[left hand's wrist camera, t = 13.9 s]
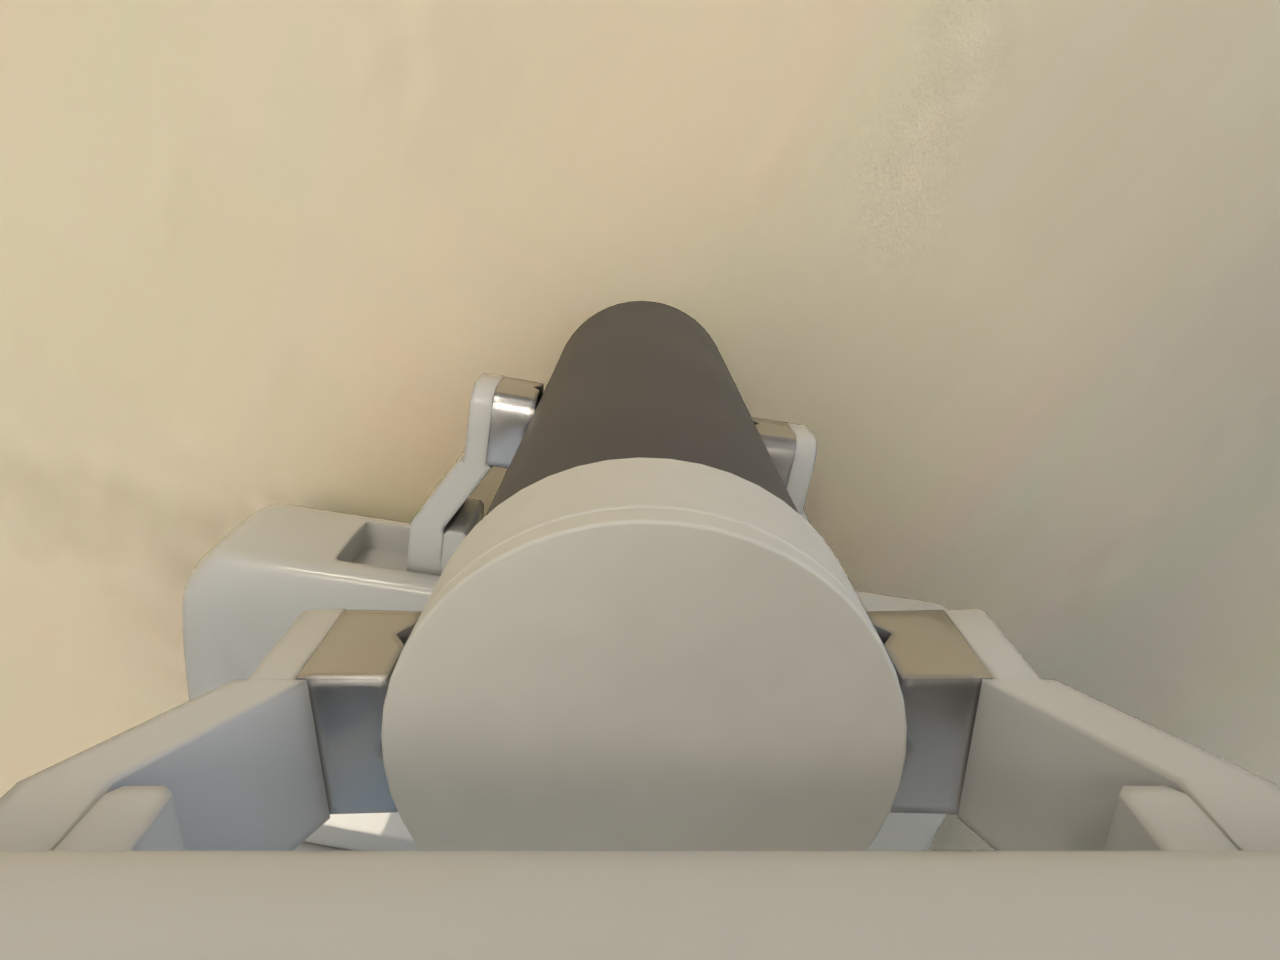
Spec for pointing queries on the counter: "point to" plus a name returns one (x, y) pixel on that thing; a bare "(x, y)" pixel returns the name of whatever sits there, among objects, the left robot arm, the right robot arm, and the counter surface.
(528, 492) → the lid
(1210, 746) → the counter surface
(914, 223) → the counter surface
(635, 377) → the dark gray cylinder
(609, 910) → the left robot arm
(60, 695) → the counter surface
